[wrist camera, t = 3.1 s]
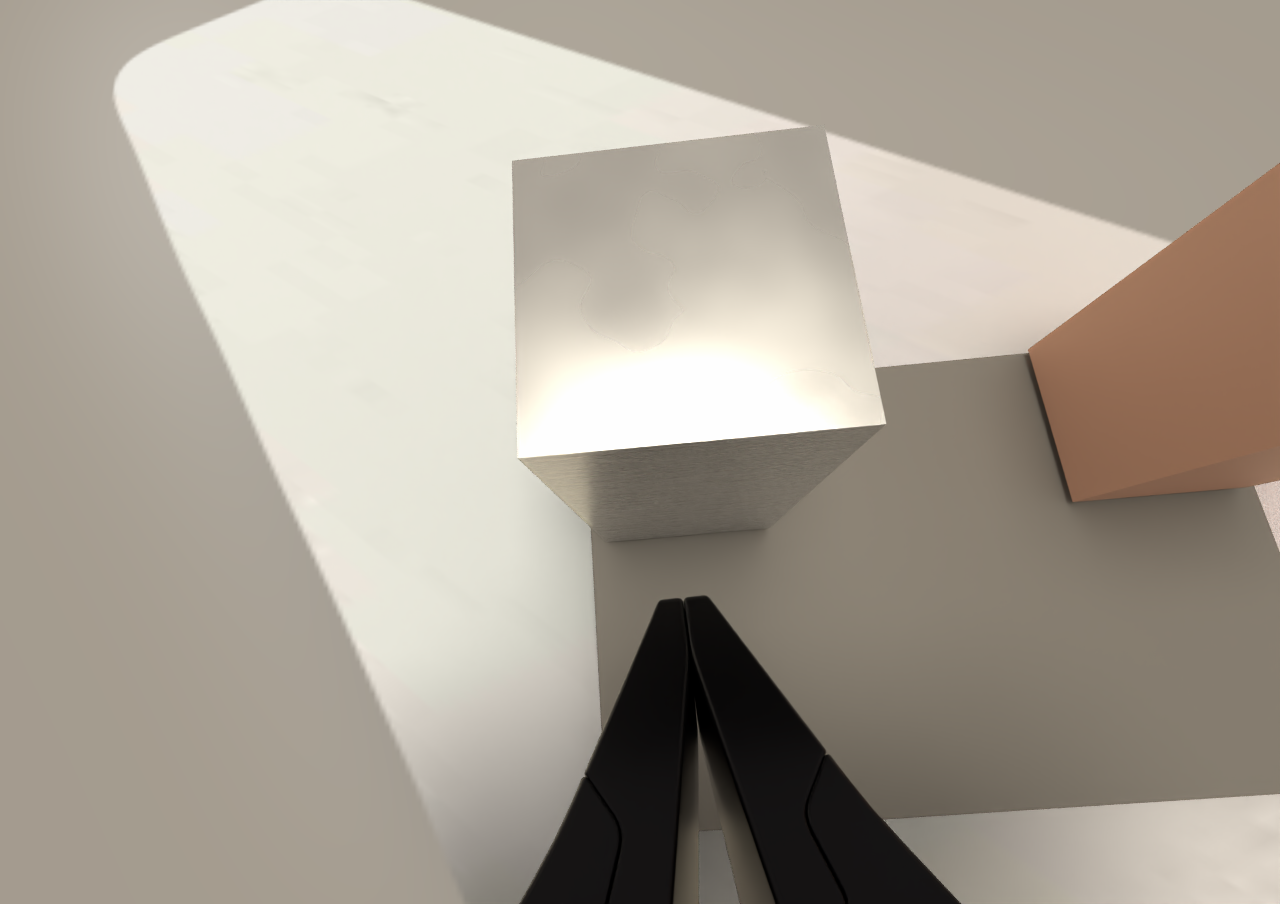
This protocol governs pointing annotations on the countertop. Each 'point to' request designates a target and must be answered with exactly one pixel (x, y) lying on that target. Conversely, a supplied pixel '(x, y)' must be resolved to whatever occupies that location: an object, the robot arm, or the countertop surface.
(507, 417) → the countertop surface
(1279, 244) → the peach orange rectangular block
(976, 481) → the thin grey base plate
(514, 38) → the countertop surface
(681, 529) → the brushed grey block
